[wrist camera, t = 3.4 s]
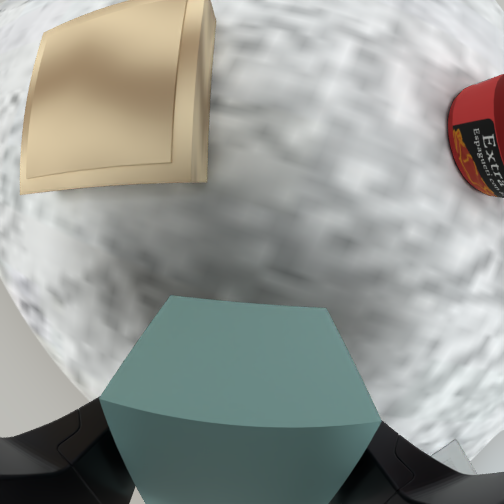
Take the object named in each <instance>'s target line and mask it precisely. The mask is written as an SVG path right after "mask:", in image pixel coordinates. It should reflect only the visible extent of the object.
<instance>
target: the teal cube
mask: <svg viewBox="0 0 504 504" xmlns="http://www.w3.org/2000/svg"><path fill="white" fill-rule="evenodd" d="M99 400H100V403H101V406H102V409H103V412H104V415H105V418H106V420H107V423H108V426H109V428H110V431H111V433H112V436H113V438H114V441H115V443H116V446H117V448H118V450H119V452H120V455H121V457H122V459H123V461H124V463H125V466H126V468H127V470H128V472H129V474H130V476H131V478H132V480H133V482H134V484H135V486H136V487H137V489H138V491H139V493H140V495H141V496H142V498H143V500H144V502H145V504H328V503H329V502H330V501H331V500H332V498H333V497H334V496H335V494H336V493H337V492H338V490H339V489H340V488H341V486H342V485H343V483H344V482H345V481H346V479H347V478H348V476H349V475H350V473H351V472H352V470H353V469H354V467H355V466H356V464H357V463H358V461H359V459H360V458H361V456H362V455H363V453H364V451H365V450H366V448H367V446H368V445H369V443H370V441H371V440H372V438H373V436H374V434H375V432H376V431H377V429H378V427H379V425H380V423H381V418H380V416H379V414H378V412H377V410H376V408H375V405H374V403H373V401H372V399H371V397H370V395H369V393H368V391H367V388H366V386H365V384H364V382H363V380H362V378H361V376H360V374H359V372H358V370H357V368H356V366H355V364H354V362H353V360H352V358H351V356H350V354H349V352H348V350H347V348H346V346H345V344H344V342H343V340H342V338H341V336H340V334H339V332H338V330H337V328H336V326H335V324H334V322H333V320H332V318H331V316H330V314H329V312H328V311H327V309H326V308H316V307H298V306H282V305H268V304H255V303H243V302H231V301H221V300H210V299H201V298H192V297H183V296H174V295H170V297H169V298H168V300H167V301H166V302H165V304H164V305H163V306H162V308H161V309H160V311H159V312H158V313H157V315H156V316H155V317H154V319H153V320H152V322H151V323H150V324H149V326H148V327H147V329H146V330H145V332H144V333H143V334H142V336H141V337H140V339H139V340H138V342H137V343H136V344H135V346H134V347H133V349H132V350H131V352H130V353H129V354H128V356H127V357H126V359H125V360H124V362H123V363H122V365H121V366H120V368H119V369H118V371H117V372H116V374H115V375H114V377H113V378H112V379H111V381H110V382H109V384H108V385H107V387H106V389H105V390H104V392H103V393H102V395H101V396H100V398H99Z"/></svg>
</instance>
